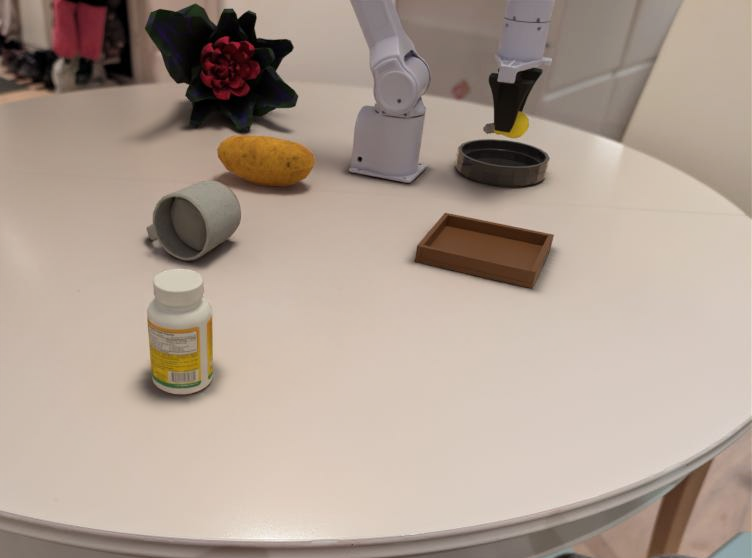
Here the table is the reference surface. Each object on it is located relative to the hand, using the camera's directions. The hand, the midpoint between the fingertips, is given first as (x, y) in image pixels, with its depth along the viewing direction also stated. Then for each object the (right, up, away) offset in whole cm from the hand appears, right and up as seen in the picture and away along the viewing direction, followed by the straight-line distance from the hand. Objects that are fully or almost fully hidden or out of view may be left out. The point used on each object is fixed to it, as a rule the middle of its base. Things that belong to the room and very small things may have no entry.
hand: (505, 127), depth 101 cm
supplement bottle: (-40, -34, -37) cm, 64 cm away
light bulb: (0, -1, +1) cm, 1 cm away
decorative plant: (-39, +9, +28) cm, 49 cm away
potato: (-33, -7, +4) cm, 34 cm away
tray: (-7, -20, -15) cm, 26 cm away
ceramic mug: (-42, -19, -14) cm, 48 cm away
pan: (+2, -4, +10) cm, 11 cm away
